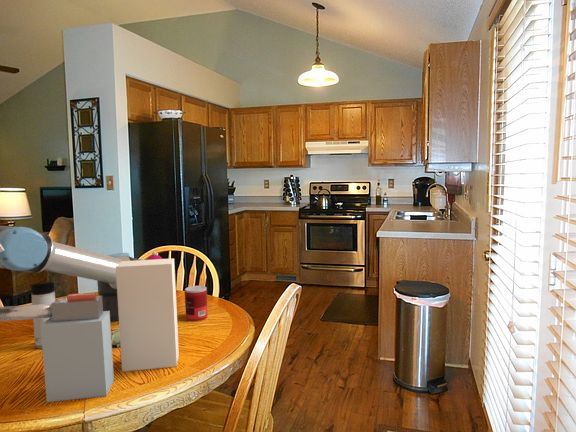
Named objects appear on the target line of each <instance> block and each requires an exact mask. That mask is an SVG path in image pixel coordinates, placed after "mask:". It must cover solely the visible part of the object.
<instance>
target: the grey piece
mask: <svg viewBox="0 0 576 432" xmlns="http://www.w3.org/2000/svg"><path fill="white" fill-rule="evenodd" d="M102 314H103V302H102V296H98V295H97V293H96V292H85V293H84V292H82V293H71V294H70V293H69V294H67V295H66V297H65V298H64V297H61V298H60V297H59V298H57V299H55V301H54V302H53V303H52V304H39V305H32V304H28V305H14V306H13V305H12V306H11V305H10V306H0V322H11V321H21V320H33V319H38V318H52V319H53V322H65V321H79V320H92V319H99V318H100V317H101V315H102Z"/></svg>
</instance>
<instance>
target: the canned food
mask: <svg viewBox="0 0 576 432" xmlns="http://www.w3.org/2000/svg"><path fill="white" fill-rule="evenodd" d="M184 303H185V306H184V307H185V318H186V320H187V321H188V322H200V321H203V320H206V319H207V318H208V315H209V313H208V312H209V311H208V289H207V286H204V285H192V286H188V287H186V288H185V289H184Z"/></svg>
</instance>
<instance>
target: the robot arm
mask: <svg viewBox="0 0 576 432" xmlns="http://www.w3.org/2000/svg"><path fill="white" fill-rule="evenodd" d="M136 260H141V259H140V258H136V257H132V256H130V253H129V252H120V253H119V252H118V253H113V254H102V253H98V252H95V251H91V250H87V249H84V248H83V249H82V248H79V247H76V246H72V245H68V244H63V243H59V242H56V241H54V240H53V238H52V237H51V236H50V235H48V234H47V233H43V232H38V231H37V230H34V229H33V228H31V227H27V226H10V225H0V268H2V269H4V268H5V269H7V270H10V271H16V272H26V273H30V274H39V273H41V272H42V271H47V272H52V273H58V274H62V275H68V276H74V277H77V278H83V279H88V280H92V281H96V283H97V296H102V302H103V311H110V322H115V321H119V313H118V297H117V280H116V266H117V265H118V264H120V263H121V262H122V261H136Z"/></svg>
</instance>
